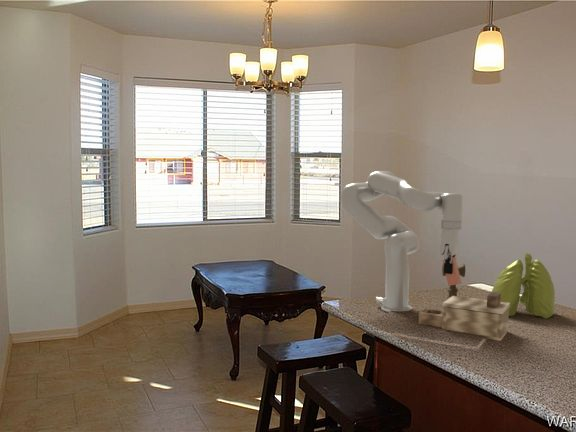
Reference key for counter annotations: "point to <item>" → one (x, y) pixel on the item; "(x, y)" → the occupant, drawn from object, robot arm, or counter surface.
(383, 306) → the robot arm
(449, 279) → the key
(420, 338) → the counter surface
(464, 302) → the lid
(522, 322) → the counter surface
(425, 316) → the wooden box
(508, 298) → the lungs
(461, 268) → the kendama
